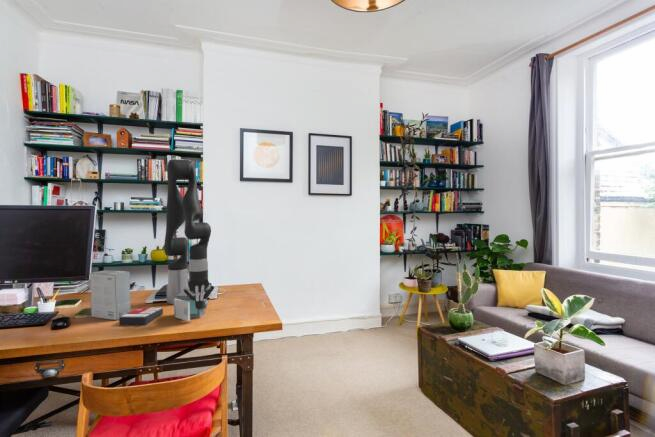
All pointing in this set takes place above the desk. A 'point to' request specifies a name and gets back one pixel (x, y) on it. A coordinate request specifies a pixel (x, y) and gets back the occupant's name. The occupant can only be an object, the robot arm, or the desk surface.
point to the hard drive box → (110, 294)
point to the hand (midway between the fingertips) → (199, 309)
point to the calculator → (140, 316)
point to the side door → (182, 309)
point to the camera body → (191, 305)
